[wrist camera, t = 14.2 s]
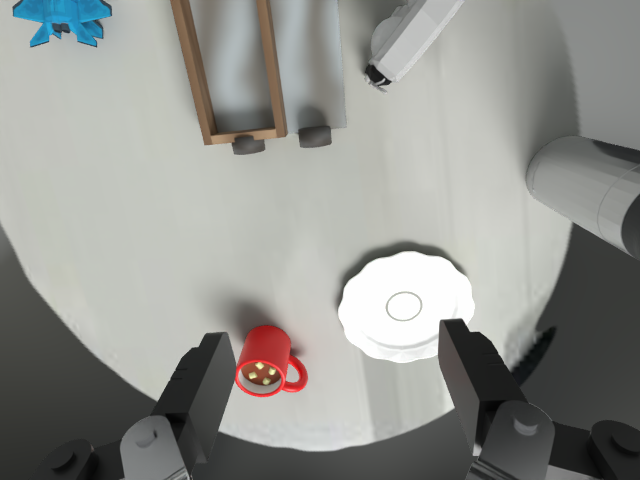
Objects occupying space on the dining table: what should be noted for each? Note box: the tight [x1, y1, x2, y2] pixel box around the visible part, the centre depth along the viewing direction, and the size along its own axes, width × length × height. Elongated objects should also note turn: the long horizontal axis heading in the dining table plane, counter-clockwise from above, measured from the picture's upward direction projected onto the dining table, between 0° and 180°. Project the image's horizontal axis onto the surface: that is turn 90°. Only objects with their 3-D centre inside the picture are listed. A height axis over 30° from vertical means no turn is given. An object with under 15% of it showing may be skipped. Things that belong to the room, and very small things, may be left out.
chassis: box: [170, 0, 346, 155], centre depth 40 cm, size 18×20×4 cm
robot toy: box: [364, 0, 465, 94], centre depth 33 cm, size 12×4×15 cm, turn 142°
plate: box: [338, 251, 475, 363], centre depth 55 cm, size 21×21×2 cm
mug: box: [235, 325, 308, 397], centre depth 57 cm, size 8×12×8 cm, turn 62°
